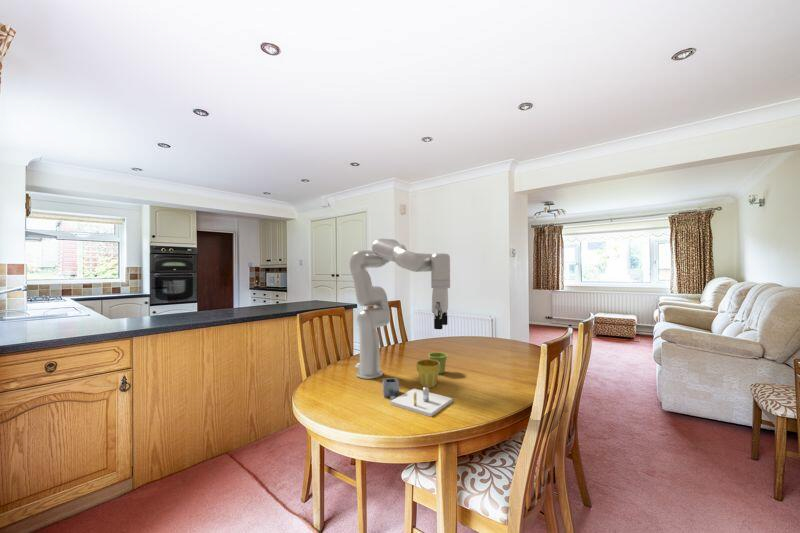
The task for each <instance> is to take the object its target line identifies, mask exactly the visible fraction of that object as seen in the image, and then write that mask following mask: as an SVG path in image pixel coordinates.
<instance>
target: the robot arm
mask: <svg viewBox="0 0 800 533" xmlns="http://www.w3.org/2000/svg"><path fill="white" fill-rule="evenodd" d="M389 262H393V263H395V264H396V265H397V266H398V267H401V268H402V269H405V270H408V271H411V272H414V273H419V272H420V273H422V272H424V273H425V272H426V273H427V272H428V273H429V272H430V273H431V274H430V278H431V280H430V282H431V283H430V284H431V285H430V286H431V289H432V292H431V293H432V294H431V313H432V314H433V329H434V330H443V328H444V327H443V326H448V310H449V291H448V290H449V289H450V288H451V258H450V255H449V254H448V253H422V252H419V253H418V252H413V251H410V250H407V248H406V246H405V245H404V244H402V243H399V242H398V240H396V239H391V238H378V239H375V240H374V241H373V243H372V245H371V250H369V249H367V250H366V249H363V250H362V249H361V250H357V251H355V252H354V253H353V254H352V255H351V256H350V259H349V270H350V273H351V276H352V279H353V284H354V291H355V296H356V300H357V301H356V302H357V303H358V305H359V306H360V307H364V308H365V307H372V306H373V308H367V309H363V310H362V311H360V312H359V313H358V314H357V320H356V322H357V327H358V333H359V334H358V335H359V362H357V363H356V364H355V365H354V368H355V369H357V372H356V377H358V378H360V379H364V380H368V379H369V380H373V379H379V378H380V377H382V376H383V374H384V371H383V370H381V369H380V366H381V365H380V362H381V360H380V359H381V358H380V351H381V350H380V335H379V333H378V331H377V328H380V327H381V328H382V327H385V326H387V325H388V324H389V323H390V322H391V312H390V306H389V301H388V300H389V299H388V294H387V293H386V290H385V289H384V288H383V287H382V286H380V285H379V286H377V285H375V286H374V285H373V283H372V277H371V276H370V274H369V272H368V270H366V269H367V268H368V269H369V268H370V269H371V268H373V269H374V268H381V267H383V266H385V265H386V264H388V263H389Z"/></svg>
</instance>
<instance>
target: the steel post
mask: <svg viewBox="0 0 800 533" xmlns="http://www.w3.org/2000/svg"><path fill="white" fill-rule="evenodd" d="M422 391H423V401H424V402H429V392H430V387H424V386H422Z"/></svg>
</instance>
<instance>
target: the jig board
mask: <svg viewBox="0 0 800 533" xmlns="http://www.w3.org/2000/svg"><path fill="white" fill-rule="evenodd" d="M414 393H416V394H417V406H414ZM453 399H454V398H453V397H449V396H445V395H441V394H437V393H434V392H430V391H429V402H424V401H423V389H417V388H412V389H410V390H408V391H406V392H405V393H403V394H402V393H401V395H399V396H398V397H395V399H393V400H391V401H389V403H390V406H391V405H392V406H395V407H398V408H401V409H404V410H408V411H411V412H414V413H416V414H420V415H424V416H427V417H430V418H432V417H433V416H434V415H436V414H437V413H439V412H440V411H441V410H443V409H444V408H445V407H447V406H448V405H450V404H451V403H452V402H453V401H454V400H453Z"/></svg>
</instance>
